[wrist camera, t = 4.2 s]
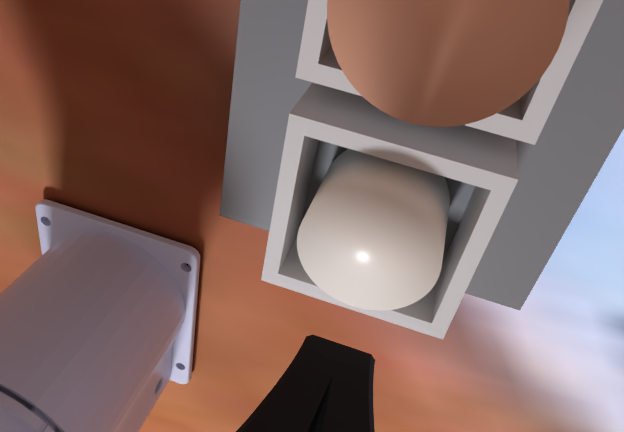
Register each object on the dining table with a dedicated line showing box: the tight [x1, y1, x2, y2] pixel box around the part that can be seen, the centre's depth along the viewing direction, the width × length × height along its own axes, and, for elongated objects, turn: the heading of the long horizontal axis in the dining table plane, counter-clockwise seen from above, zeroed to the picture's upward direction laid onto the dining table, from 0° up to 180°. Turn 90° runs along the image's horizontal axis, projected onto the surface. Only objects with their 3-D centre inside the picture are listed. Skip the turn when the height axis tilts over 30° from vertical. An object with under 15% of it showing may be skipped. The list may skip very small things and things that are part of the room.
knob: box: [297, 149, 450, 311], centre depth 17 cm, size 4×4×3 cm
